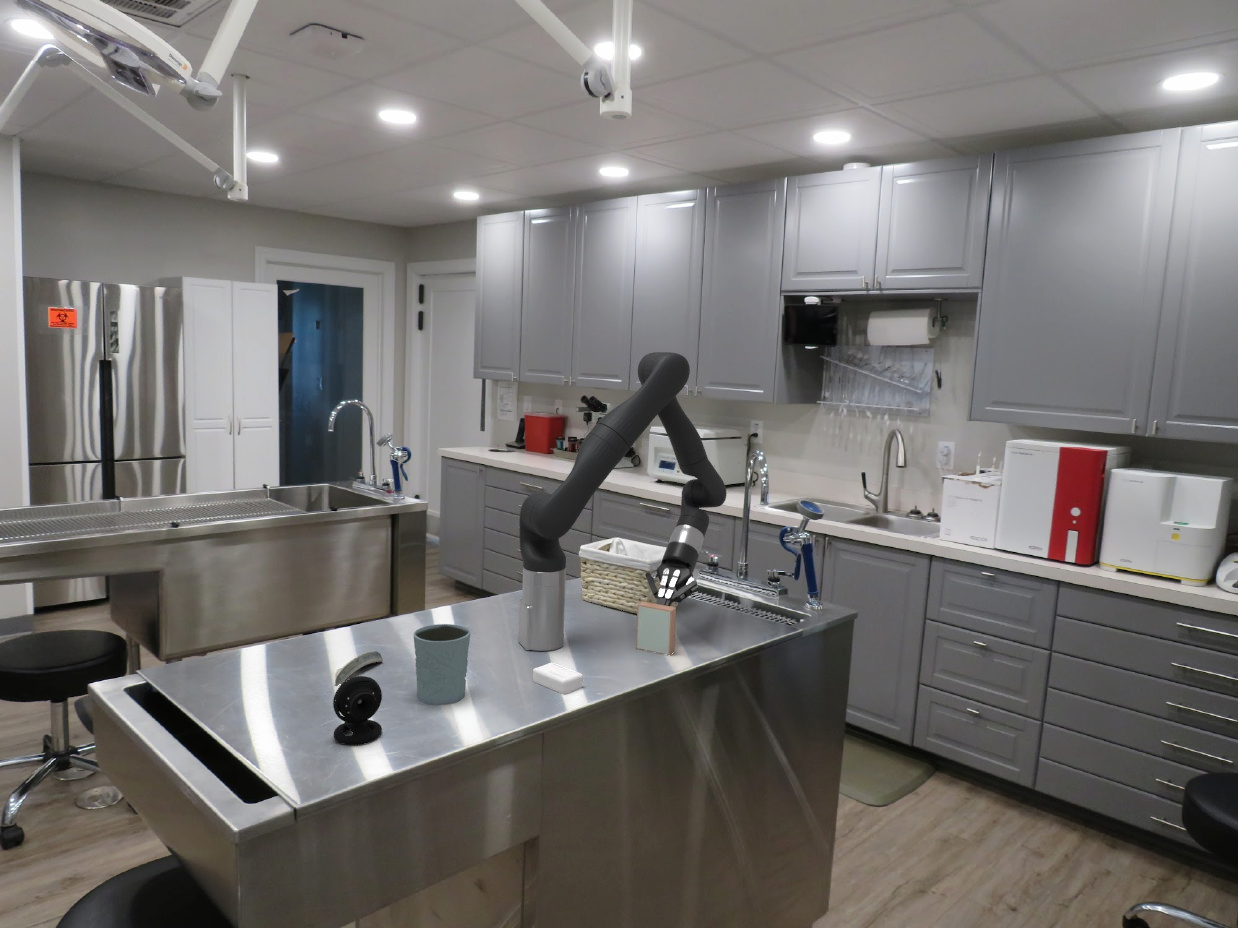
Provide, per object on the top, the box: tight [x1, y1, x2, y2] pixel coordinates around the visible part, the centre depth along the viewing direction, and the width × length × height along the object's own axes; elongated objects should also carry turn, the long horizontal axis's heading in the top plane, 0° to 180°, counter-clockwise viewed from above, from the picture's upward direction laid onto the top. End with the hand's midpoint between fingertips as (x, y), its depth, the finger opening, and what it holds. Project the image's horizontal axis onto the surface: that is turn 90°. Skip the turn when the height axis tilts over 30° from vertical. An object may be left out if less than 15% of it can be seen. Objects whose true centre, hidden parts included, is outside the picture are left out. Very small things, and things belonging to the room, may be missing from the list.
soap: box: [532, 661, 584, 695], centre depth 159 cm, size 9×6×3 cm, turn 48°
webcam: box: [332, 675, 383, 746], centre depth 135 cm, size 8×8×10 cm
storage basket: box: [578, 536, 679, 615], centre depth 213 cm, size 24×16×15 cm
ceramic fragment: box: [334, 650, 384, 687], centre depth 162 cm, size 14×5×4 cm, turn 157°
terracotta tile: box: [635, 602, 677, 656], centre depth 179 cm, size 3×8×10 cm, turn 64°
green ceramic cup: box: [413, 623, 471, 706], centre depth 152 cm, size 10×10×12 cm
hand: (659, 615), depth 180 cm, fingers closed
